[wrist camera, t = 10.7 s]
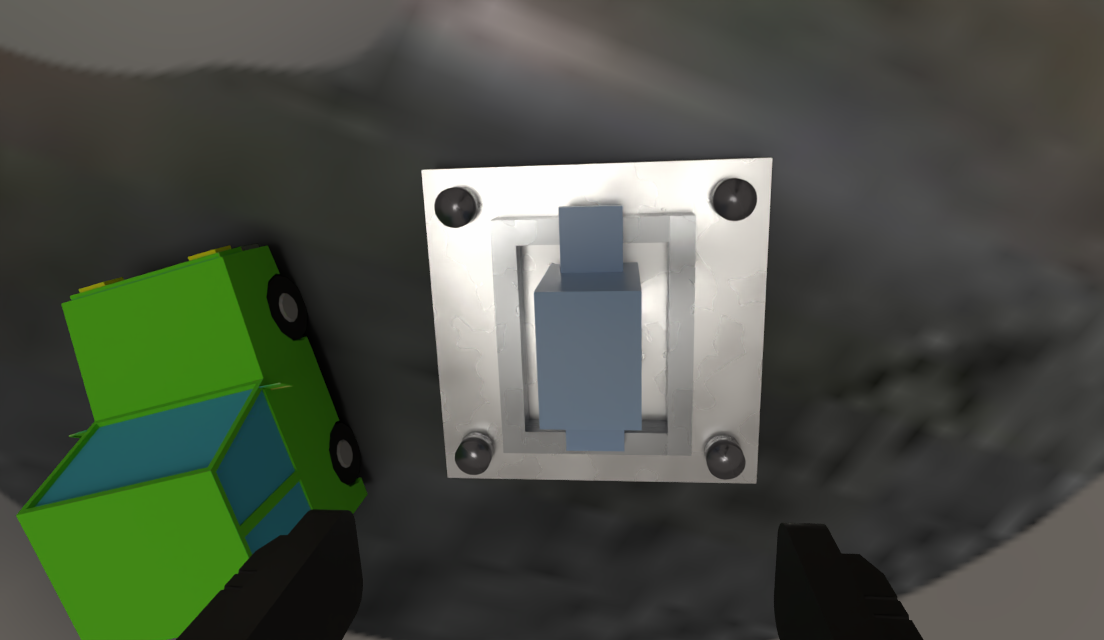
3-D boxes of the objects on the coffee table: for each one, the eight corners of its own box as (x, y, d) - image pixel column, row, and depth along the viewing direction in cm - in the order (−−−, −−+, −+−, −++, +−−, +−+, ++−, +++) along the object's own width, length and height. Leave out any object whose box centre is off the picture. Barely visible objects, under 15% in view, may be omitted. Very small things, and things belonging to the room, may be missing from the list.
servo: (548, 203, 26) (530, 217, 21) (637, 200, 26) (641, 214, 21) (556, 429, 29) (542, 492, 24) (637, 429, 29) (641, 494, 23)
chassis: (434, 168, 28) (410, 171, 25) (761, 157, 27) (780, 158, 24) (458, 457, 32) (439, 493, 29) (747, 462, 31) (762, 500, 27)
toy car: (301, 225, 30) (150, 263, 20) (394, 478, 33) (301, 615, 23) (115, 280, 32) (-105, 338, 22) (220, 515, 35) (66, 657, 25)
